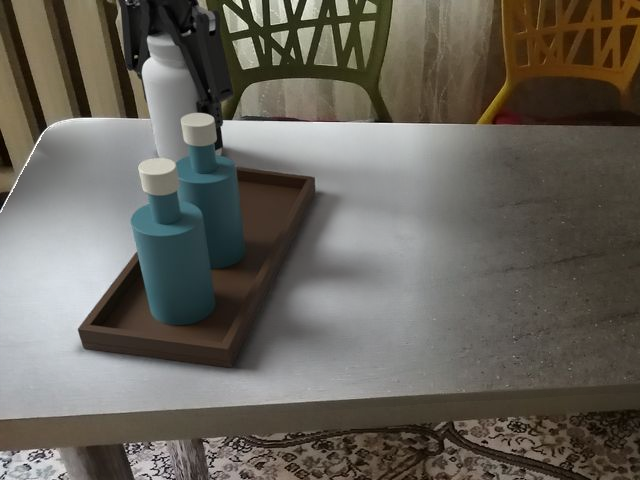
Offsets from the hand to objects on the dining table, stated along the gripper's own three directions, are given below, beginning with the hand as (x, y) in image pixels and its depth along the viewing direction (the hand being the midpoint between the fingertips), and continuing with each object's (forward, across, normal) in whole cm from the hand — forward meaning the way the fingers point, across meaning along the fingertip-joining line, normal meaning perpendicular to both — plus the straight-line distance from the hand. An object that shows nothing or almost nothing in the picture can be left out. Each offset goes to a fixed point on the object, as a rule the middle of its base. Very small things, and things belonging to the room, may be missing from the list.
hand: (187, 139), depth 95 cm
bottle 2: (+1, -19, +15) cm, 24 cm away
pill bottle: (+2, 0, 0) cm, 2 cm away
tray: (+2, -19, +15) cm, 24 cm away
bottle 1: (+1, -23, +24) cm, 33 cm away
